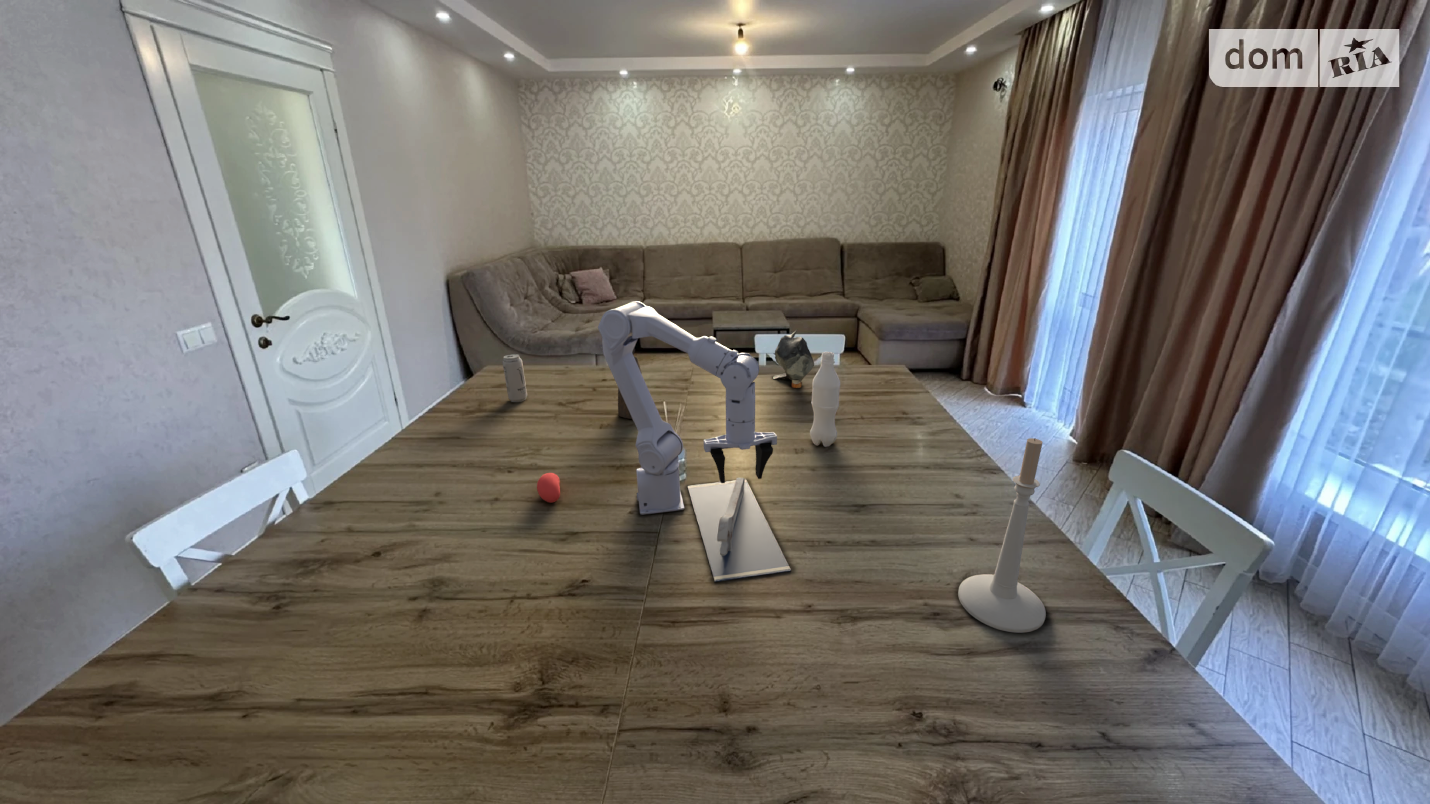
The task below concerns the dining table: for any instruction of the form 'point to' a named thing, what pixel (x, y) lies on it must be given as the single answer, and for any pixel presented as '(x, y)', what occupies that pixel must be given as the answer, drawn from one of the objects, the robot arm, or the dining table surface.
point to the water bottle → (825, 401)
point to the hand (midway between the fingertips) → (740, 478)
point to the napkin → (736, 533)
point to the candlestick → (1009, 566)
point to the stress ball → (549, 487)
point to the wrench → (730, 518)
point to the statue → (622, 405)
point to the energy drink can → (514, 378)
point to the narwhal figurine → (793, 359)
